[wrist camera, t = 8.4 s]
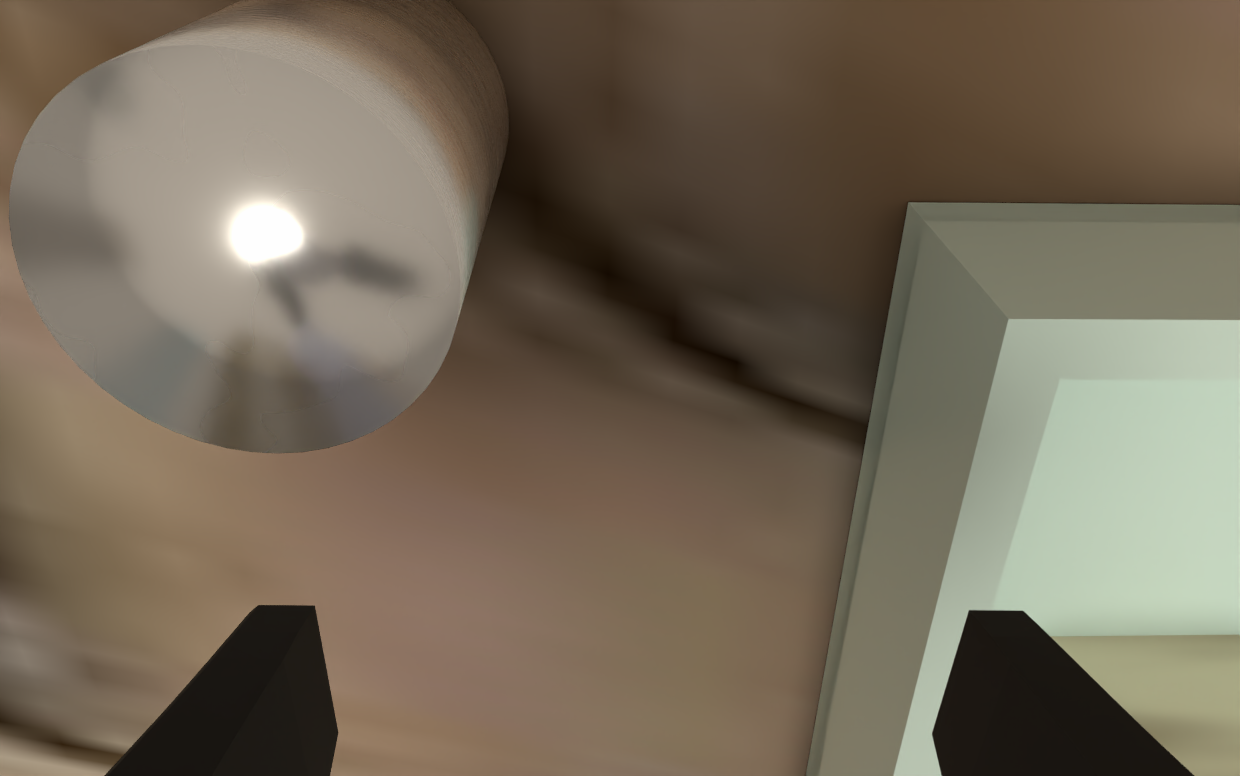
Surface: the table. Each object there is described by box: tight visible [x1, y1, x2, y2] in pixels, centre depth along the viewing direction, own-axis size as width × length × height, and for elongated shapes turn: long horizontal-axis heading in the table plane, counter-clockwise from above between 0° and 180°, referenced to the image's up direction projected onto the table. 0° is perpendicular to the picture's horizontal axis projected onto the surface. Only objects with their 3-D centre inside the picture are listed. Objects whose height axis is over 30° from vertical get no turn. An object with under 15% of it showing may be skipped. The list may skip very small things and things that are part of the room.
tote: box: [806, 202, 1240, 776], centre depth 20 cm, size 18×14×5 cm
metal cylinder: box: [9, 0, 509, 453], centre depth 14 cm, size 5×5×7 cm
